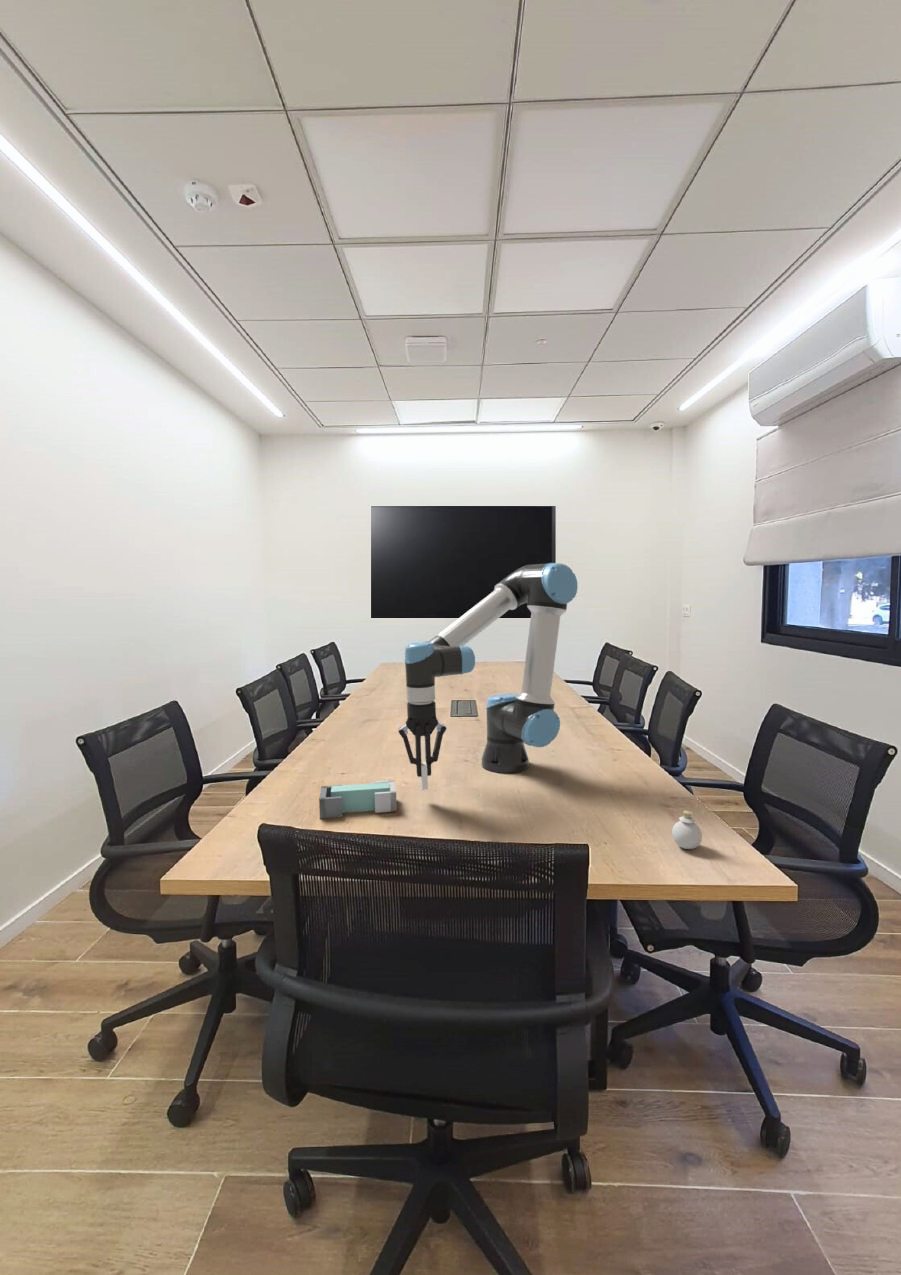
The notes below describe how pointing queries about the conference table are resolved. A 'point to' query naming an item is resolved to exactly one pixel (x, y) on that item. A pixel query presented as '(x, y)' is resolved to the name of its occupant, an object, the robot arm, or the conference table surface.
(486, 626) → the robot arm
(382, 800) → the sliding cap
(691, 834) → the ornament
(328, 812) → the cap
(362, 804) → the block
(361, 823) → the conference table surface
